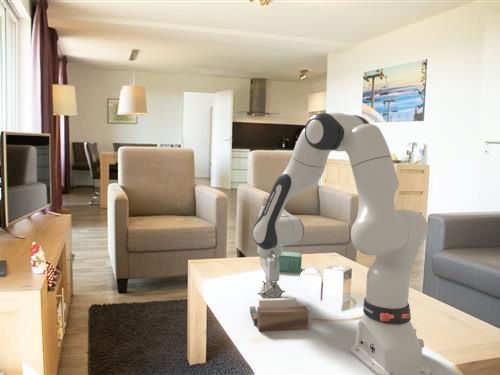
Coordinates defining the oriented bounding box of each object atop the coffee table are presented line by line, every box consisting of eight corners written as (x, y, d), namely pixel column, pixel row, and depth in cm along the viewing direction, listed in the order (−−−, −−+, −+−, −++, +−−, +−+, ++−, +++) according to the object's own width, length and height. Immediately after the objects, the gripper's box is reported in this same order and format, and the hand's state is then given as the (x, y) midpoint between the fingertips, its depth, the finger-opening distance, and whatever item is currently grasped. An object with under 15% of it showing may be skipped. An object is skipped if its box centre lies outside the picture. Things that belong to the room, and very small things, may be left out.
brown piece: (310, 329, 140) (311, 310, 139) (256, 331, 138) (256, 312, 137) (299, 310, 155) (299, 293, 154) (250, 312, 153) (250, 294, 152)
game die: (274, 315, 160) (282, 300, 153) (252, 304, 161) (259, 289, 154) (282, 295, 166) (290, 280, 160) (260, 285, 167) (267, 269, 160)
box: (300, 273, 197) (301, 256, 196) (269, 271, 199) (269, 254, 198) (301, 268, 204) (301, 252, 203) (270, 266, 206) (271, 250, 205)
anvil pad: (295, 314, 150) (296, 299, 149) (259, 315, 148) (259, 300, 148) (294, 311, 152) (294, 297, 151) (258, 312, 150) (258, 298, 150)
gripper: (284, 255, 154) (283, 295, 156) (273, 241, 175) (272, 276, 176) (265, 256, 154) (264, 296, 155) (257, 241, 174) (256, 276, 175)
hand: (268, 285), depth 166 cm, fingers closed
